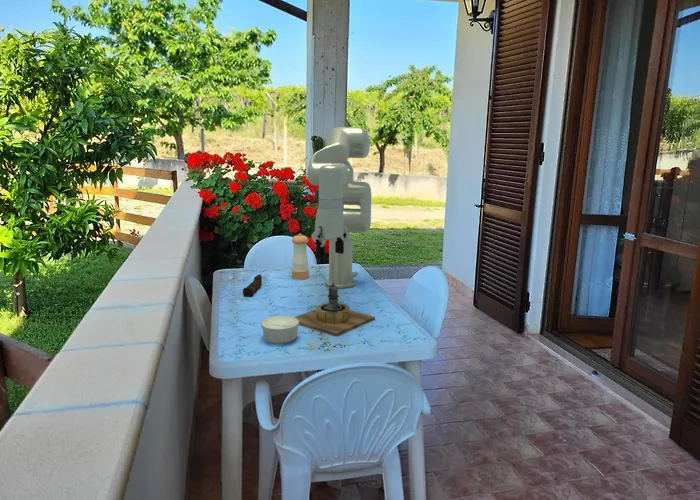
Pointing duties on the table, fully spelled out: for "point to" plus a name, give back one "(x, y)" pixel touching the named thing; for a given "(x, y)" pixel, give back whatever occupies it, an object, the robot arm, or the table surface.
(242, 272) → the table surface
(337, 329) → the wooden board
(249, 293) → the brown long rounded piece
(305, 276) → the pepper shaker
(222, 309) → the table surface
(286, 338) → the ramekin
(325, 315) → the wooden ring
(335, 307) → the stone chess piece
